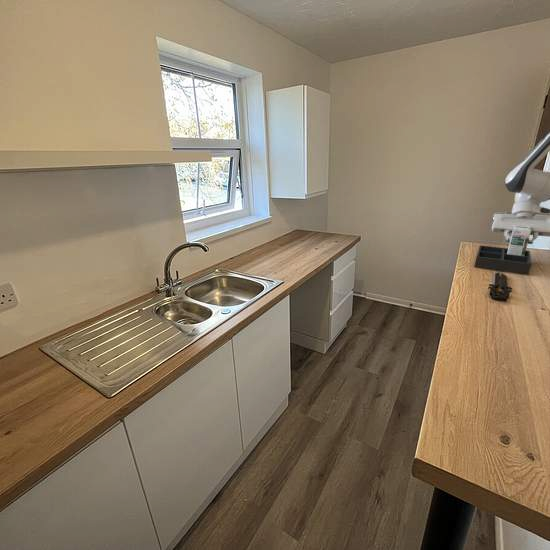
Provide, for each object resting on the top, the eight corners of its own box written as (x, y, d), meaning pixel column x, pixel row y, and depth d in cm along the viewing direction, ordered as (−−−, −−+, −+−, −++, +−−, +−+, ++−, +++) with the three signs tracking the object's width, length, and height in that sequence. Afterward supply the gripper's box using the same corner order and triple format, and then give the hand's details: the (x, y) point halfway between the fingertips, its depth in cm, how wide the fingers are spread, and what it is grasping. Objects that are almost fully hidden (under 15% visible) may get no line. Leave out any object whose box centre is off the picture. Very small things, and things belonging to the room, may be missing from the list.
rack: (526, 261, 126) (529, 250, 124) (528, 275, 113) (531, 263, 111) (477, 255, 135) (479, 245, 134) (474, 267, 123) (476, 256, 121)
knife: (494, 273, 116) (495, 270, 116) (515, 276, 112) (516, 273, 112) (484, 297, 99) (485, 294, 98) (508, 303, 95) (509, 299, 94)
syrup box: (504, 262, 124) (513, 227, 119) (506, 257, 128) (514, 224, 123) (521, 264, 121) (531, 229, 115) (523, 260, 125) (532, 226, 119)
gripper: (495, 207, 128) (488, 235, 124) (559, 210, 116) (554, 241, 113) (493, 215, 133) (487, 242, 129) (554, 219, 121) (549, 249, 118)
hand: (519, 242), depth 121 cm, fingers closed on syrup box, 6 cm apart
